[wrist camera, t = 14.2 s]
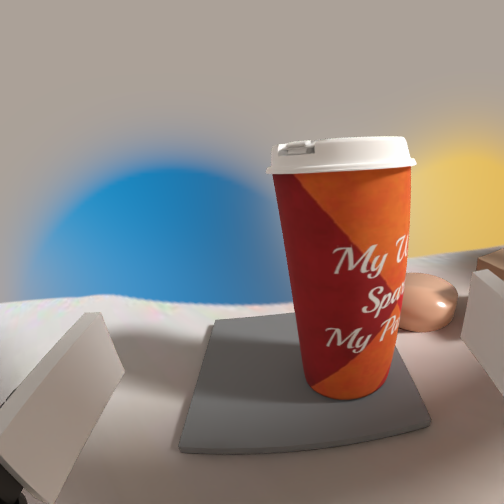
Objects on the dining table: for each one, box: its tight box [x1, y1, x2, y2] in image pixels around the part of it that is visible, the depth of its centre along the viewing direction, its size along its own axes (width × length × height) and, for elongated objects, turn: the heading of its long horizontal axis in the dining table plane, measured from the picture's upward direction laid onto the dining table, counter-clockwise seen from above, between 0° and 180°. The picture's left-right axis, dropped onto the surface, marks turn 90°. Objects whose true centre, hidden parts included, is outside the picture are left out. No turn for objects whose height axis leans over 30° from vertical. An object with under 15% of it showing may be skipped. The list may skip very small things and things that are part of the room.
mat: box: [178, 313, 431, 454], centre depth 21 cm, size 14×14×1 cm
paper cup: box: [266, 136, 416, 400], centre depth 17 cm, size 8×8×14 cm
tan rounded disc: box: [399, 273, 458, 332], centre depth 24 cm, size 7×7×2 cm
